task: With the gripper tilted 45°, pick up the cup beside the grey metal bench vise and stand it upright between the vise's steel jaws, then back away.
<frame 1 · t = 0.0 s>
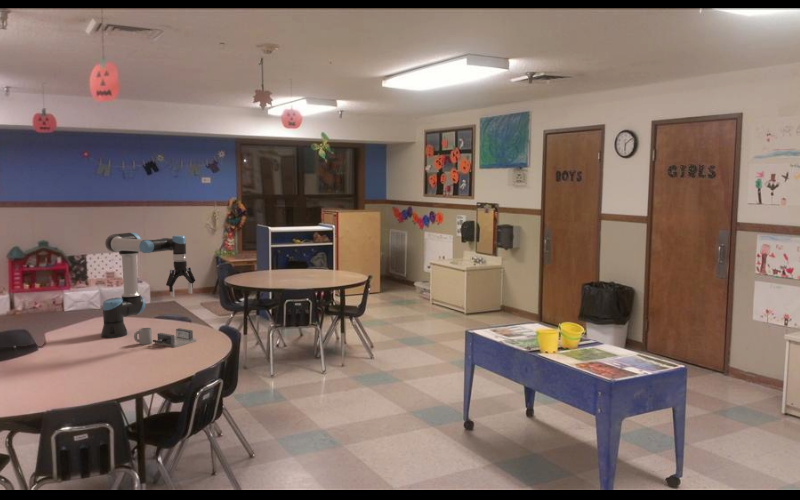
hand: (181, 295, 389), 28 cm above the table, tool pointing down, fingers open, 13 cm apart
vise: (175, 342, 385), on the table
cup: (143, 344, 383), on the table
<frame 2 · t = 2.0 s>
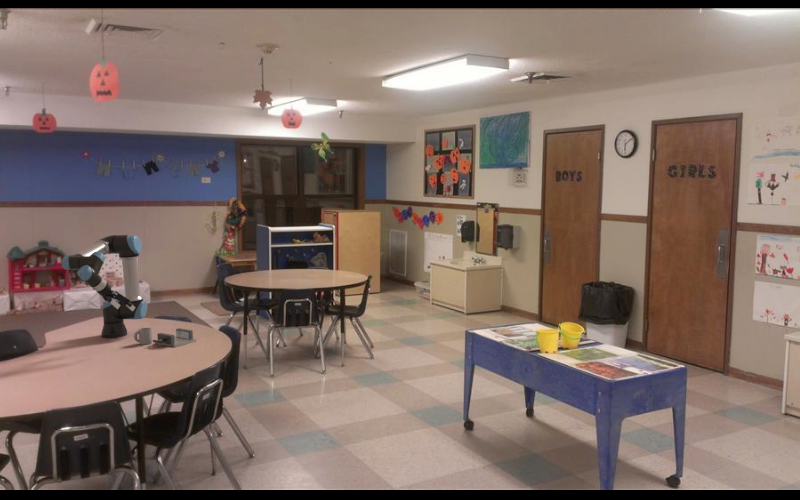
hand: (126, 308, 372), 24 cm above the table, tool tilted 45°, fingers open, 13 cm apart
nothing on the table moved.
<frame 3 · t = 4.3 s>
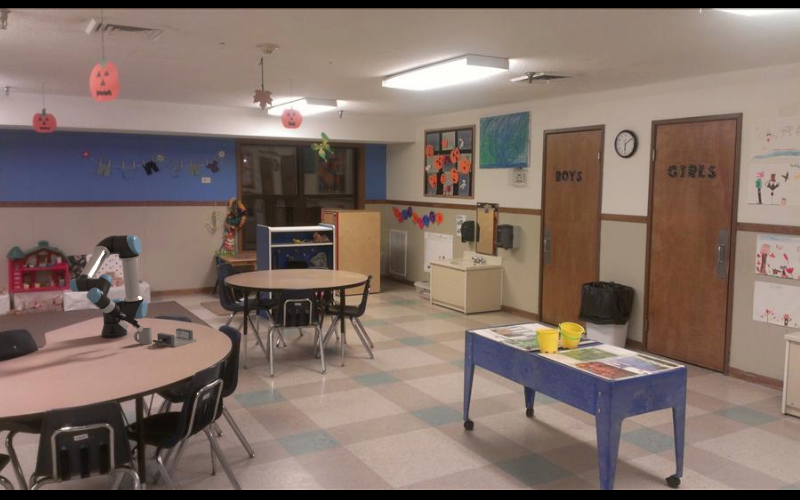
hand: (134, 328, 377), 10 cm above the table, tool tilted 45°, fingers open, 13 cm apart
nothing on the table moved.
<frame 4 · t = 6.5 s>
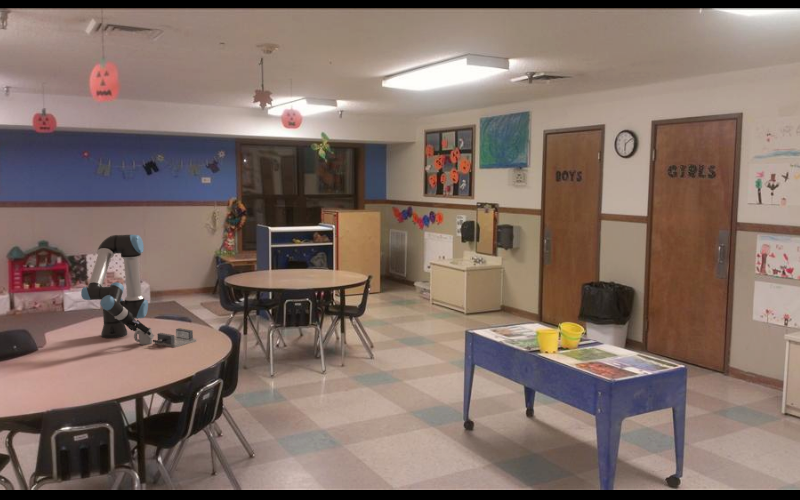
hand: (148, 336, 385), 4 cm above the table, tool tilted 45°, fingers closed on cup, 8 cm apart
cup: (143, 344, 383), on the table, touching gripper
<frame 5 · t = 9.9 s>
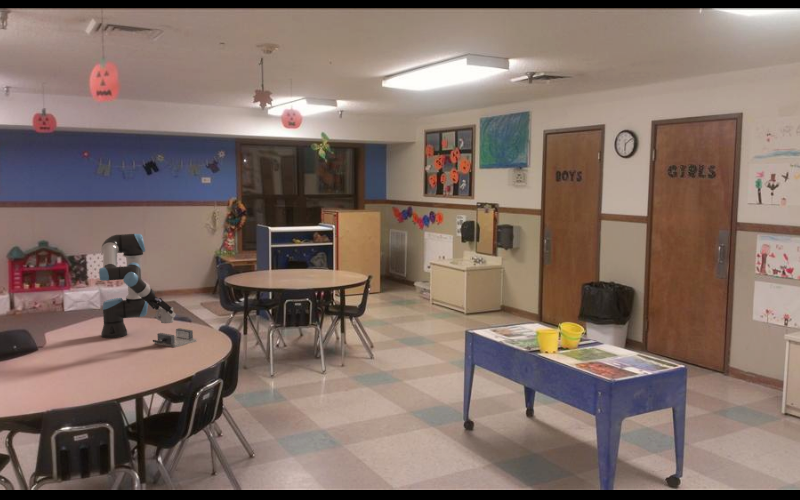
hand: (169, 315, 384), 17 cm above the table, tool tilted 45°, fingers closed on cup, 8 cm apart
cup: (164, 322, 382), point 13 cm above the table, touching gripper
when the fingers open (6 cm above the table, at t = 13.3 s): cup stays where it is, resting on vise.
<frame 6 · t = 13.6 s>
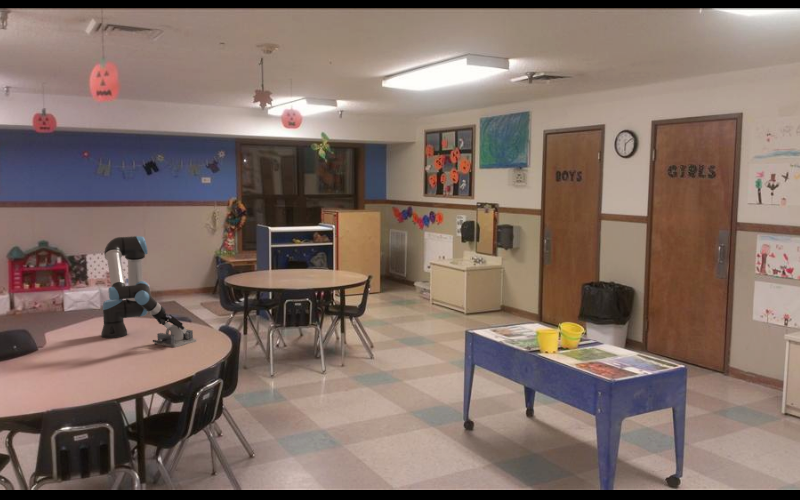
hand: (178, 330, 387), 7 cm above the table, tool tilted 45°, fingers open, 11 cm apart
cup: (174, 340, 386), point 1 cm above the table, touching vise
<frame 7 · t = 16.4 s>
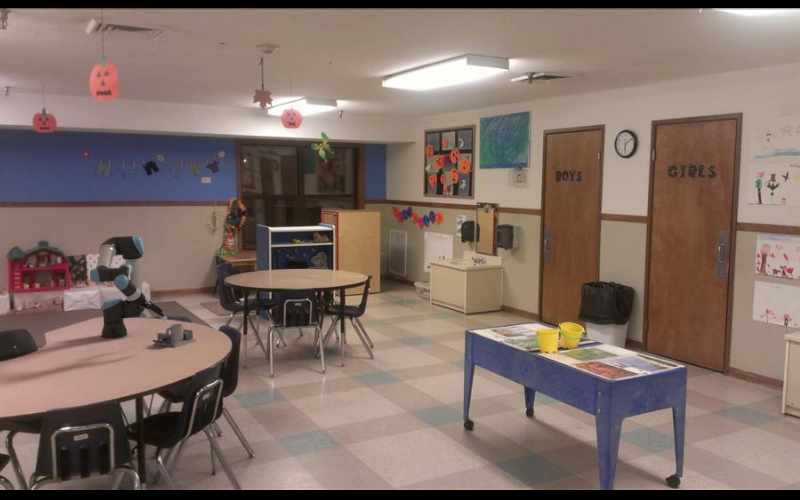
hand: (157, 318, 375), 17 cm above the table, tool tilted 45°, fingers open, 13 cm apart
nothing on the table moved.
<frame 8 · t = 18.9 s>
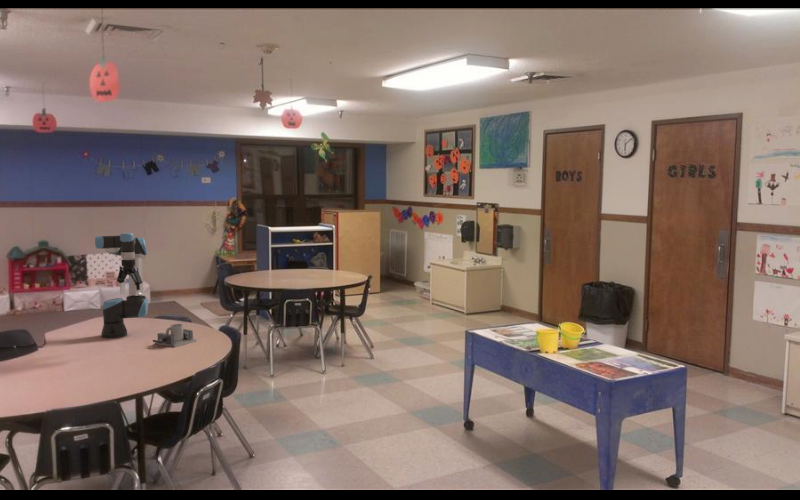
hand: (130, 294, 377), 31 cm above the table, tool pointing down, fingers open, 13 cm apart
nothing on the table moved.
at the end: cup 0.6 cm off-centre on the vise, point 1.3 cm above the vise's base; cup tilted 0°; the gripper is holding nothing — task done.
